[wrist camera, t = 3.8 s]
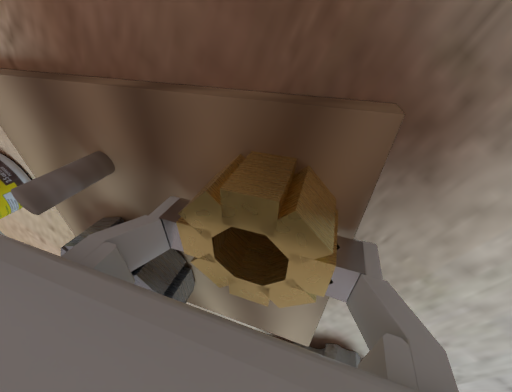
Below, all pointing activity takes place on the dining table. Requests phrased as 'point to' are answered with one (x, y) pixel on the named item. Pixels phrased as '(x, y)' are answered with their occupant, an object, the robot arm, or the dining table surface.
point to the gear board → (186, 157)
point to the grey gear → (151, 267)
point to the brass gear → (263, 230)
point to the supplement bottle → (10, 185)
